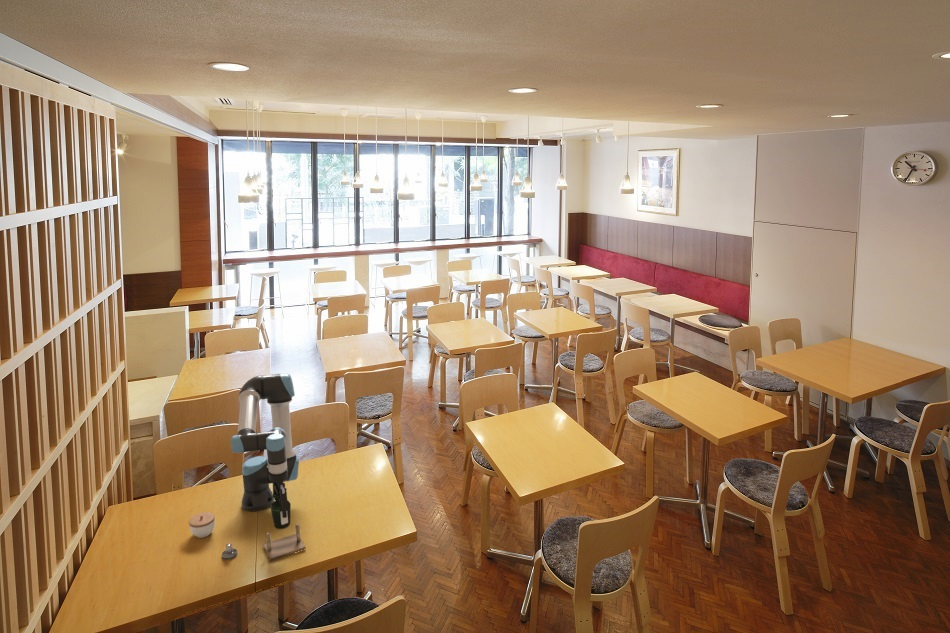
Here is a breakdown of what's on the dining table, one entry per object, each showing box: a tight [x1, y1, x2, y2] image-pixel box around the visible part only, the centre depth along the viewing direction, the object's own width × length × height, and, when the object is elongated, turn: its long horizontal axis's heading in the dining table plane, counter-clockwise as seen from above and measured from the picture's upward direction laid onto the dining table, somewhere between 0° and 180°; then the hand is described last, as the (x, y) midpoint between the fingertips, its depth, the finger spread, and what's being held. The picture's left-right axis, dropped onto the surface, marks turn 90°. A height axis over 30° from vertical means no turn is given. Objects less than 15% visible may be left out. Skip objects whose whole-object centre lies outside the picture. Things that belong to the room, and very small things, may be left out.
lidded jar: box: [188, 511, 216, 539], centre depth 264 cm, size 11×11×9 cm
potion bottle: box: [270, 489, 292, 530], centre depth 250 cm, size 8×8×18 cm
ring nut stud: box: [221, 542, 238, 561], centre depth 249 cm, size 6×6×5 cm
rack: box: [262, 523, 307, 563], centre depth 253 cm, size 12×15×10 cm
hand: (281, 518), depth 251 cm, fingers closed on potion bottle, 8 cm apart
